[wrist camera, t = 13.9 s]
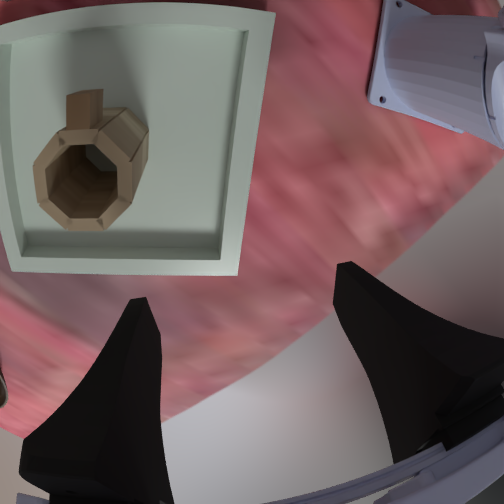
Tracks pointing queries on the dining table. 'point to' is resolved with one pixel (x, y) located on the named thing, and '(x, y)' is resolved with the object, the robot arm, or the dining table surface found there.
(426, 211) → the dining table surface
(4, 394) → the plant saucer
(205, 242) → the tray
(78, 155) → the sleeve
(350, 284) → the robot arm
